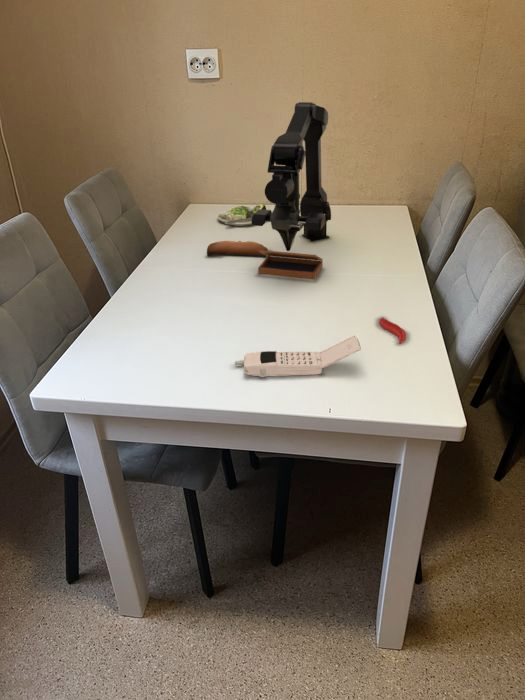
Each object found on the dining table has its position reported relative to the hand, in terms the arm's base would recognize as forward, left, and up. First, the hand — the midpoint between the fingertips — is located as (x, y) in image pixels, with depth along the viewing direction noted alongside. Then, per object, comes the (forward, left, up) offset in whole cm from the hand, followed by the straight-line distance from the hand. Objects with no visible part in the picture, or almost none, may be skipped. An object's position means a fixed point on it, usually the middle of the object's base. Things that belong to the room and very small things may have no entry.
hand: (288, 250), depth 151 cm
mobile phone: (+22, +42, -7) cm, 48 cm away
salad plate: (-11, -51, -7) cm, 53 cm away
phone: (-1, -1, -6) cm, 7 cm away
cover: (-1, -1, -2) cm, 3 cm away
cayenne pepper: (-5, +39, -7) cm, 40 cm away
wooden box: (-1, -1, -7) cm, 7 cm away
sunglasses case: (+5, -22, -7) cm, 24 cm away
